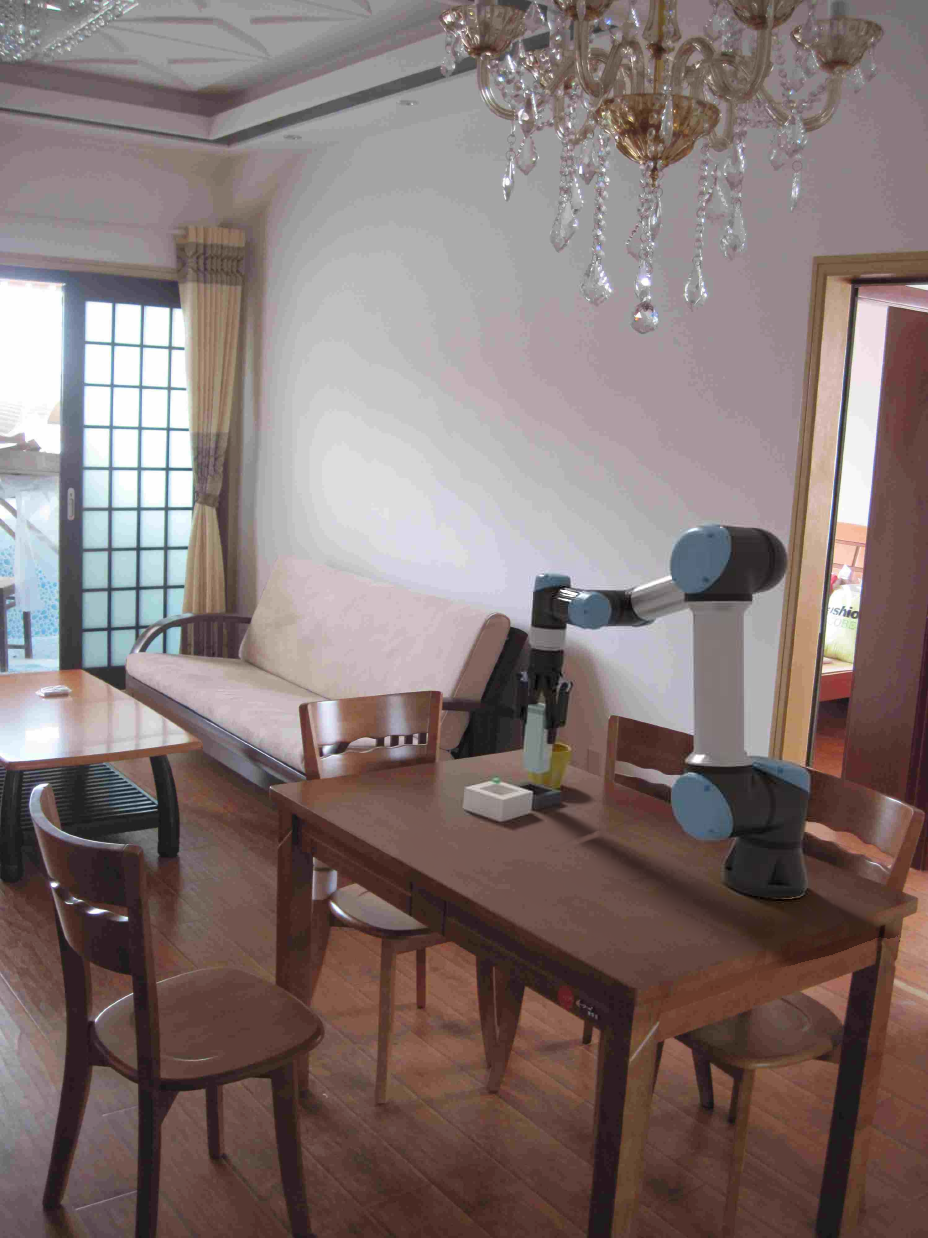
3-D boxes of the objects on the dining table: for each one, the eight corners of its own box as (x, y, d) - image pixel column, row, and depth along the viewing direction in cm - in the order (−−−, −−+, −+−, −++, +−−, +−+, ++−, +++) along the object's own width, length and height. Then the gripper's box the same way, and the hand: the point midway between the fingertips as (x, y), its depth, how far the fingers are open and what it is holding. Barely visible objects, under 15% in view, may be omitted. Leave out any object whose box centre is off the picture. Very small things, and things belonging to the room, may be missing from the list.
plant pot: (513, 782, 262) (517, 740, 261) (553, 780, 266) (557, 739, 265) (535, 796, 253) (539, 753, 251) (575, 794, 257) (580, 751, 256)
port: (530, 815, 237) (533, 788, 237) (500, 824, 230) (503, 797, 229) (493, 802, 244) (495, 777, 243) (462, 811, 236) (465, 784, 235)
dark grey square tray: (560, 804, 246) (562, 791, 246) (535, 812, 240) (537, 798, 239) (527, 794, 252) (528, 781, 252) (502, 801, 245) (503, 787, 245)
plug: (549, 771, 245) (555, 706, 243) (537, 773, 242) (543, 708, 240) (533, 766, 247) (539, 703, 246) (522, 769, 244) (528, 704, 243)
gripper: (590, 652, 239) (580, 762, 242) (525, 640, 250) (516, 745, 252) (569, 655, 233) (559, 767, 236) (503, 642, 244) (494, 749, 247)
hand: (537, 755), depth 244 cm, fingers closed on plug, 4 cm apart
